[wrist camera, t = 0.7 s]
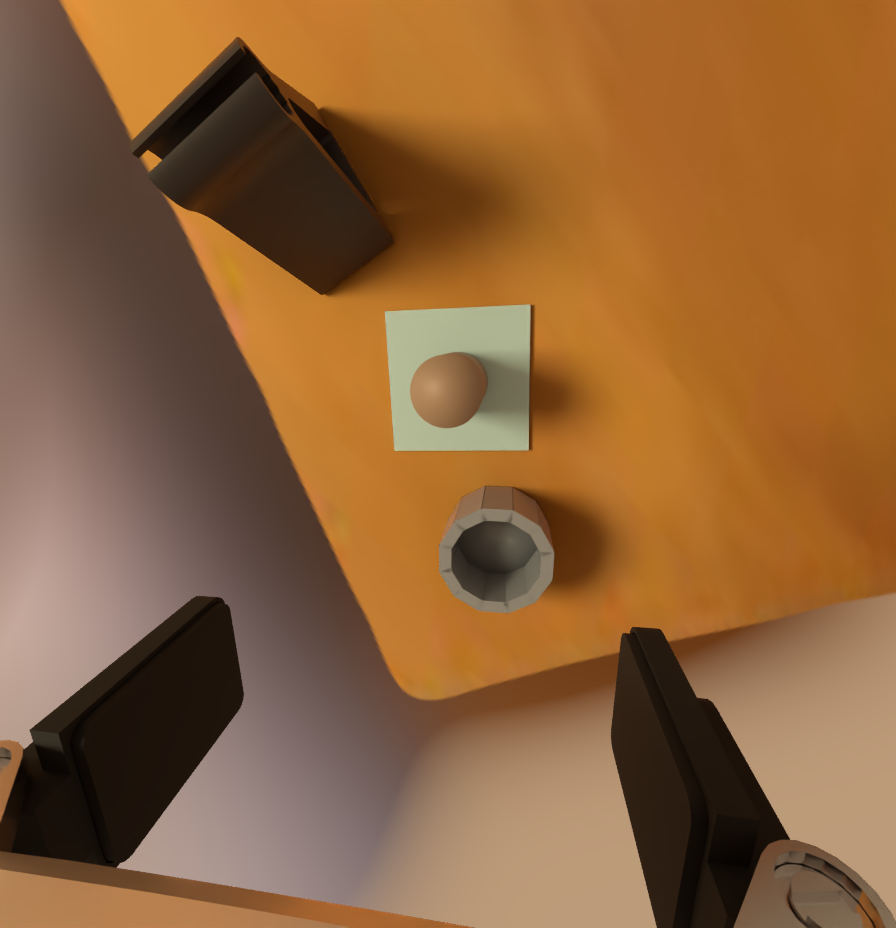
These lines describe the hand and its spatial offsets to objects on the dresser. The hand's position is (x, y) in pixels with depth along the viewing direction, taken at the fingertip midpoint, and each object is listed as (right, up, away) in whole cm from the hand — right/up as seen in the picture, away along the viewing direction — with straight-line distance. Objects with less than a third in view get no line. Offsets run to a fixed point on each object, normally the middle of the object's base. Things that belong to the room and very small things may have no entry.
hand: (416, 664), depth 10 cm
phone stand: (-7, +21, +18) cm, 29 cm away
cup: (+4, 0, +22) cm, 23 cm away
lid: (+1, +10, +20) cm, 23 cm away
